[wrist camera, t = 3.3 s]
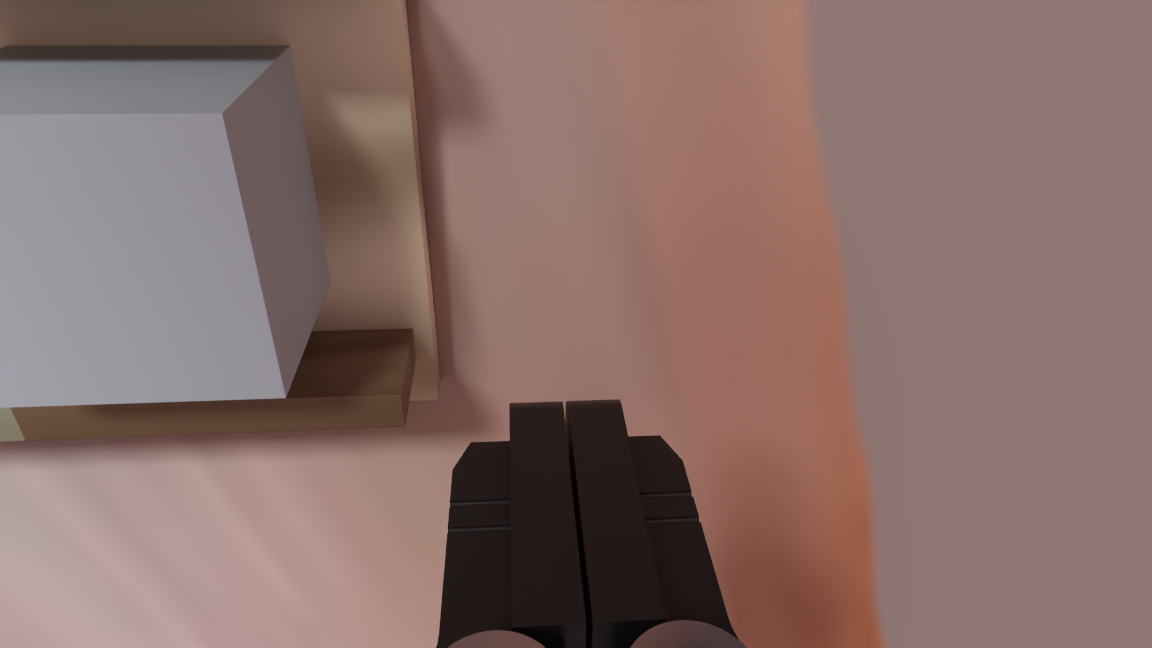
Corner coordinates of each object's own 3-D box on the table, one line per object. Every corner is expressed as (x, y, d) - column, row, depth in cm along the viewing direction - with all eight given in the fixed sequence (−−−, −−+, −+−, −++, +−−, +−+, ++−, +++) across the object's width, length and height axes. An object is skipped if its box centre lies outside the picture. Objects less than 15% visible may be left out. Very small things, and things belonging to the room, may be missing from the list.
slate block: (6, 45, 17) (-160, 115, 13) (290, 45, 17) (222, 113, 13) (91, 287, 20) (-18, 408, 16) (330, 282, 21) (285, 397, 16)
